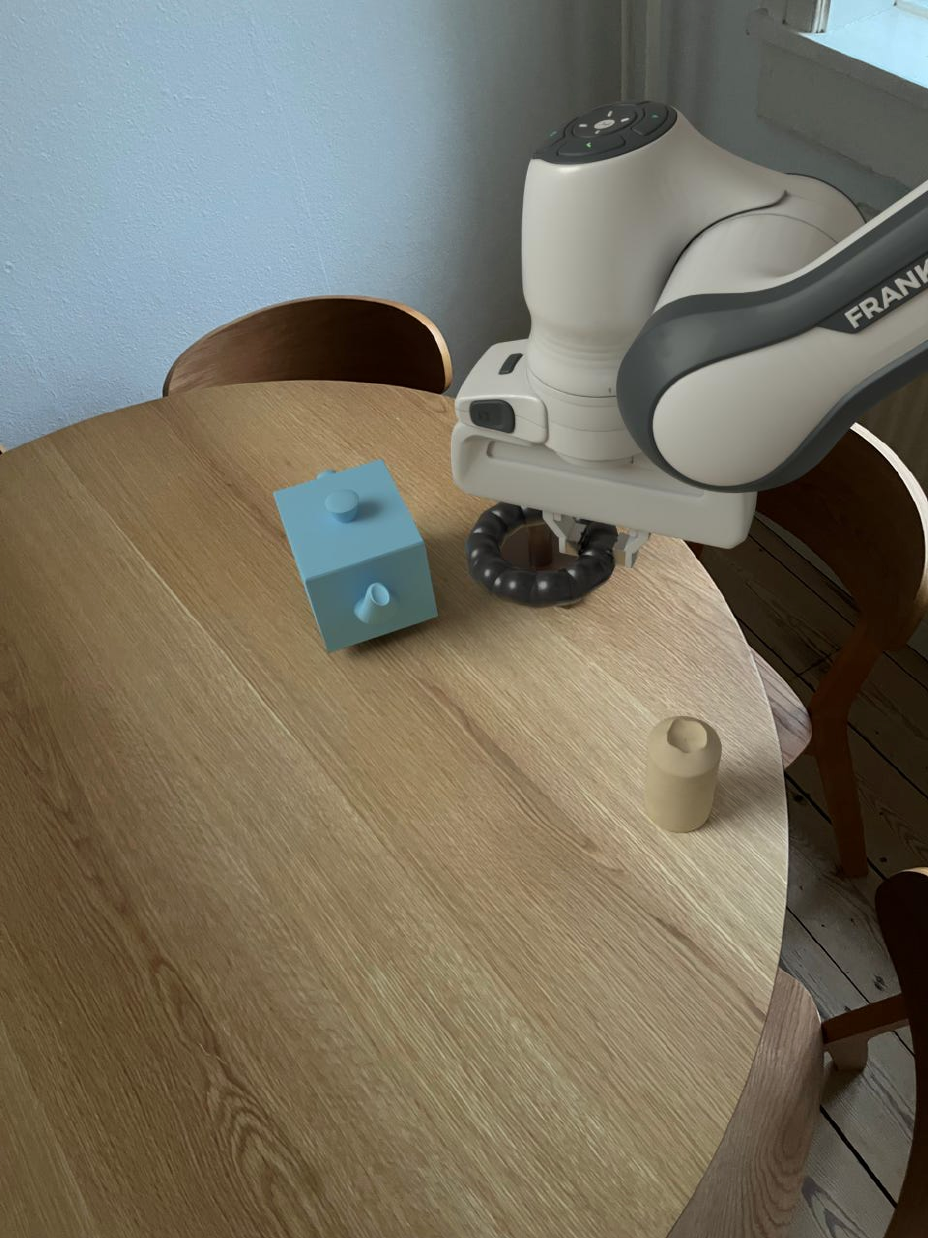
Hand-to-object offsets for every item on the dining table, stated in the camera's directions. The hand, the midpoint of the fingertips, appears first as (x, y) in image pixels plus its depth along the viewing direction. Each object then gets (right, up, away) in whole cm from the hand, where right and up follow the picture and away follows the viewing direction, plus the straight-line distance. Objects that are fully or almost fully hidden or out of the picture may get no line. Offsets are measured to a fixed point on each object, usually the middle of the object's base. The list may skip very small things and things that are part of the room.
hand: (598, 554), depth 69 cm
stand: (-2, +1, +30) cm, 30 cm away
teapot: (-19, -4, +28) cm, 34 cm away
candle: (+8, -20, +10) cm, 24 cm away
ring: (-4, +1, +2) cm, 4 cm away
